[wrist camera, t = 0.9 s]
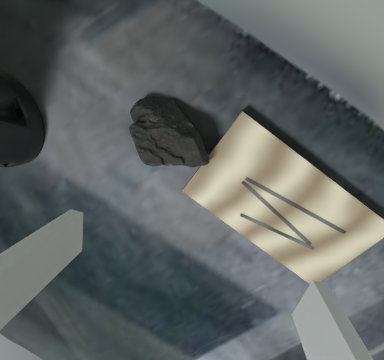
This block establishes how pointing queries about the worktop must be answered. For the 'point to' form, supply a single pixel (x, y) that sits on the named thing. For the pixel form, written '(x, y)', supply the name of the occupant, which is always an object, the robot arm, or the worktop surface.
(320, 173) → the board
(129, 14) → the worktop surface
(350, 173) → the worktop surface
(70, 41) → the worktop surface
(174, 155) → the rock
